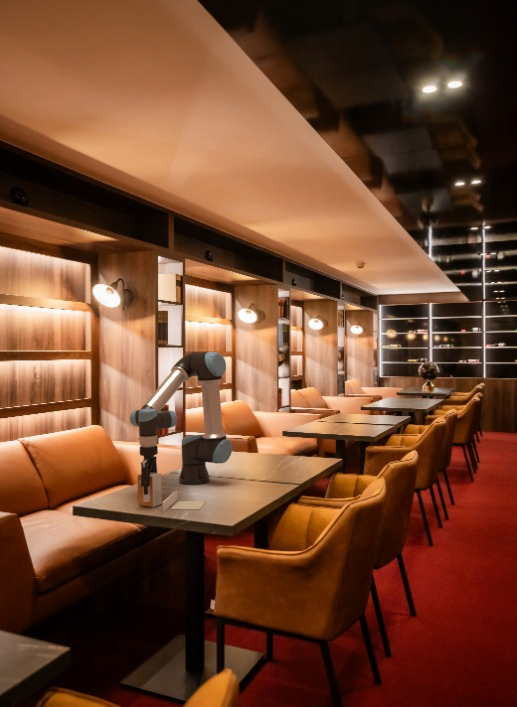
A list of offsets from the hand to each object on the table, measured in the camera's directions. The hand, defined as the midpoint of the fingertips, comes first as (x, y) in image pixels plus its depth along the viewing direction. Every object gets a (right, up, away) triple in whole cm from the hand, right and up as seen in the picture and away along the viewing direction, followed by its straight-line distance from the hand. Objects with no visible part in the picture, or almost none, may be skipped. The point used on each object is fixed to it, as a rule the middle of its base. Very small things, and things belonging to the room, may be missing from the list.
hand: (150, 499), depth 251 cm
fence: (+9, -2, -1) cm, 9 cm away
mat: (+17, -2, -2) cm, 17 cm away
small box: (0, -2, 0) cm, 2 cm away
